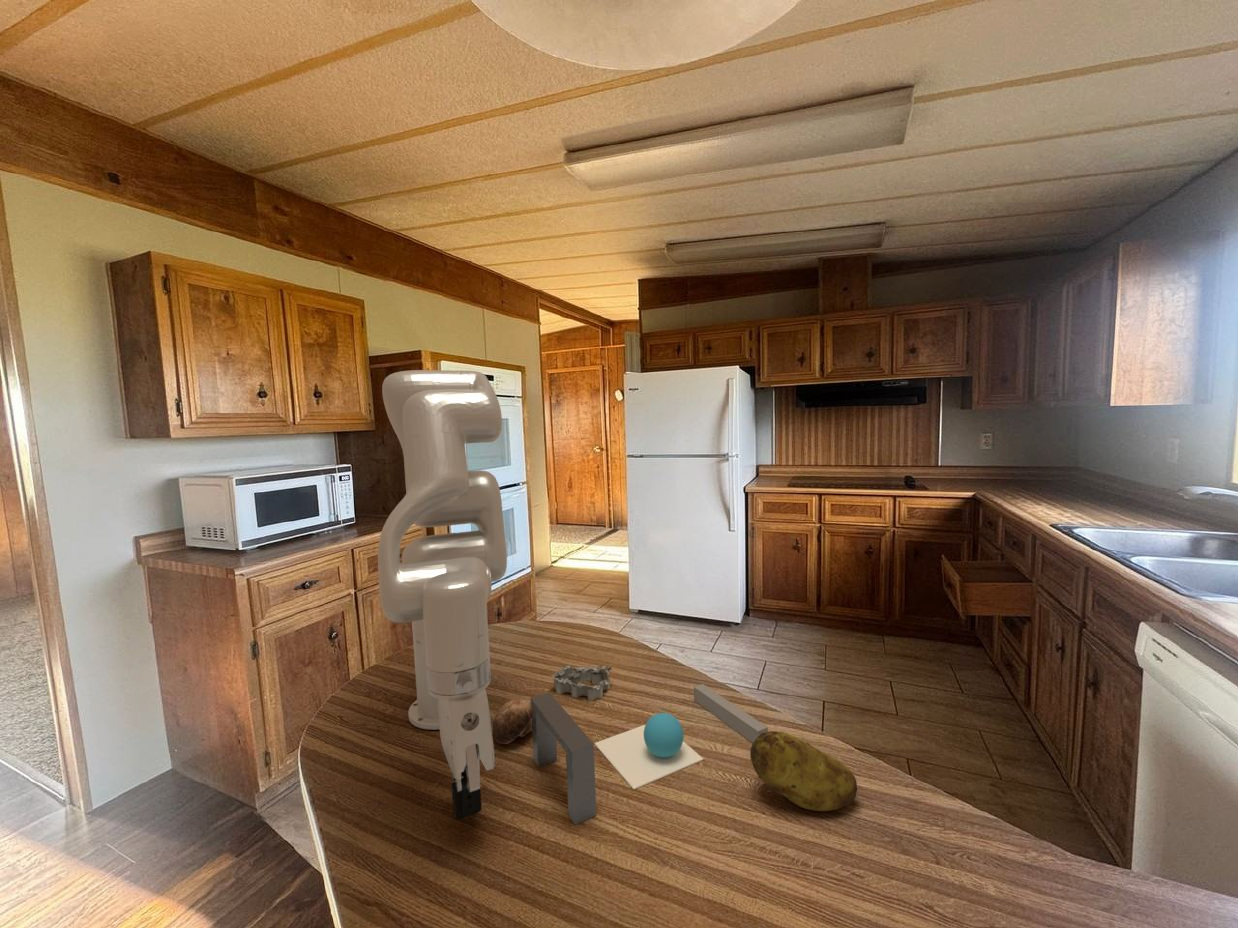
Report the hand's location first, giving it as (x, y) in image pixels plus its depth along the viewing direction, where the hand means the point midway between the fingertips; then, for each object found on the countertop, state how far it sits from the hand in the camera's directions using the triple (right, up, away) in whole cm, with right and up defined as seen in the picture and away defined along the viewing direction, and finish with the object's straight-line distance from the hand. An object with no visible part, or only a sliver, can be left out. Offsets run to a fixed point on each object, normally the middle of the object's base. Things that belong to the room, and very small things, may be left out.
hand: (467, 811), depth 67 cm
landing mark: (+24, 0, +13) cm, 27 cm away
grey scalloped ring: (+12, +1, +33) cm, 35 cm away
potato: (+43, 0, +3) cm, 44 cm away
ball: (+26, +3, +12) cm, 29 cm away
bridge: (+11, -1, +6) cm, 13 cm away
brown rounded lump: (+2, 0, +19) cm, 19 cm away
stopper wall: (+38, +1, +21) cm, 43 cm away
